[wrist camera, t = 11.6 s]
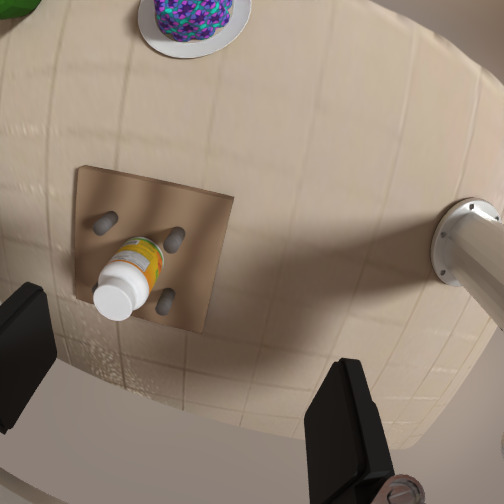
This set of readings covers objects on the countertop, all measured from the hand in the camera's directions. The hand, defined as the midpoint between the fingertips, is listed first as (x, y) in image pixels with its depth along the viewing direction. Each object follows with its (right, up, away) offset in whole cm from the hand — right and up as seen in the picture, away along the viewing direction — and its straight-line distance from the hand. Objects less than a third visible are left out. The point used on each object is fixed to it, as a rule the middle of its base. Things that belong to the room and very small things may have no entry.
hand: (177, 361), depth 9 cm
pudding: (-4, +29, +17) cm, 33 cm away
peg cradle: (-11, +3, +28) cm, 30 cm away
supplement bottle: (-10, +3, +27) cm, 29 cm away
